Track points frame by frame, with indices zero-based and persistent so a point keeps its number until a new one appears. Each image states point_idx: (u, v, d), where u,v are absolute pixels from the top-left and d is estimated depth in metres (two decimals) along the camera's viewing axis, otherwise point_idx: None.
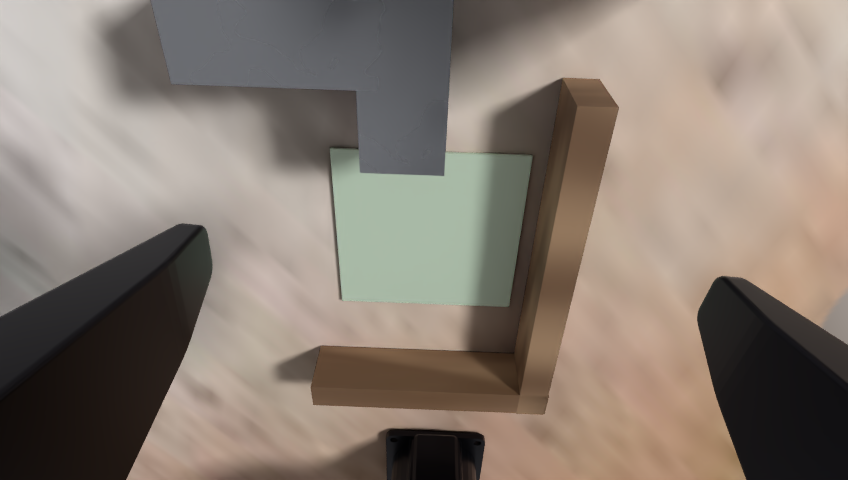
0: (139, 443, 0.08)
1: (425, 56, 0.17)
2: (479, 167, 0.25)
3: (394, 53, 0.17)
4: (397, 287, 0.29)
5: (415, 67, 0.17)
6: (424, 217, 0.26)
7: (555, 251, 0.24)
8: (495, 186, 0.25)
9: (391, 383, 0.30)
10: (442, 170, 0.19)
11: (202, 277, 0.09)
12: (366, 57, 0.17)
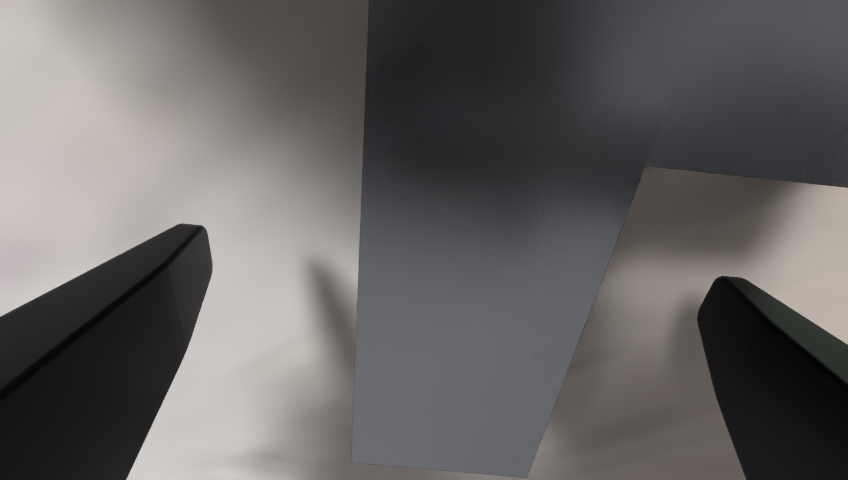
0: (140, 443, 0.08)
1: None
2: None
3: (558, 29, 0.05)
4: None
5: None
6: None
7: None
8: None
9: None
10: None
11: (202, 277, 0.09)
12: (553, 123, 0.06)
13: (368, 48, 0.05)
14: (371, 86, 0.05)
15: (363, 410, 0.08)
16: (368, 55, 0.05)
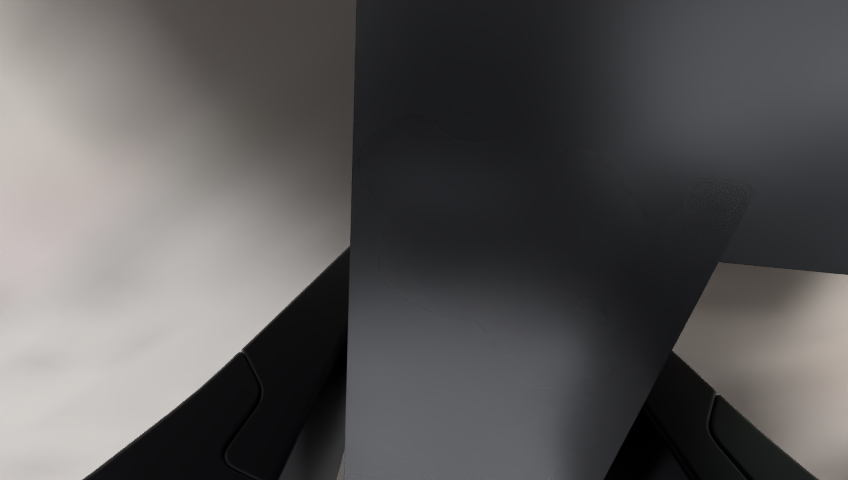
0: (340, 460, 0.08)
1: None
2: None
3: (615, 95, 0.04)
4: None
5: (716, 0, 0.03)
6: None
7: None
8: None
9: None
10: None
11: None
12: (601, 210, 0.04)
13: (355, 117, 0.04)
14: (360, 168, 0.04)
15: None
16: (355, 128, 0.04)
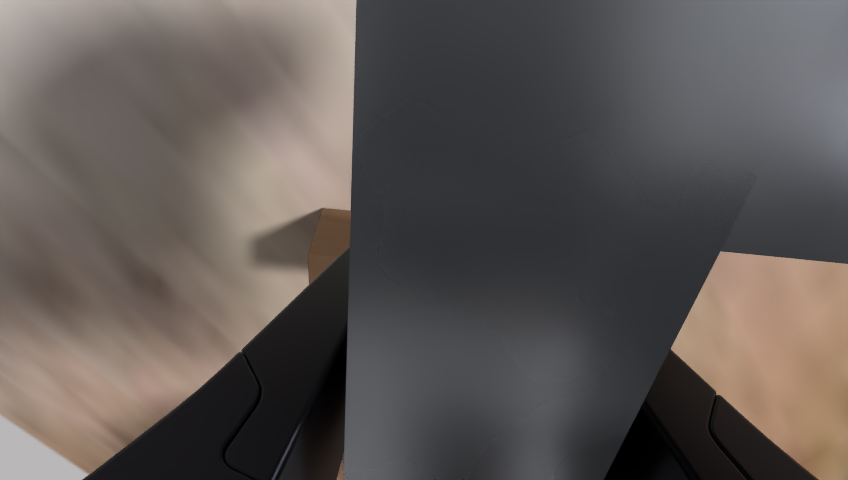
0: (340, 459, 0.08)
1: None
2: None
3: (616, 81, 0.04)
4: None
5: None
6: None
7: None
8: None
9: None
10: None
11: None
12: (603, 198, 0.04)
13: (355, 105, 0.04)
14: (360, 154, 0.04)
15: None
16: (355, 114, 0.04)
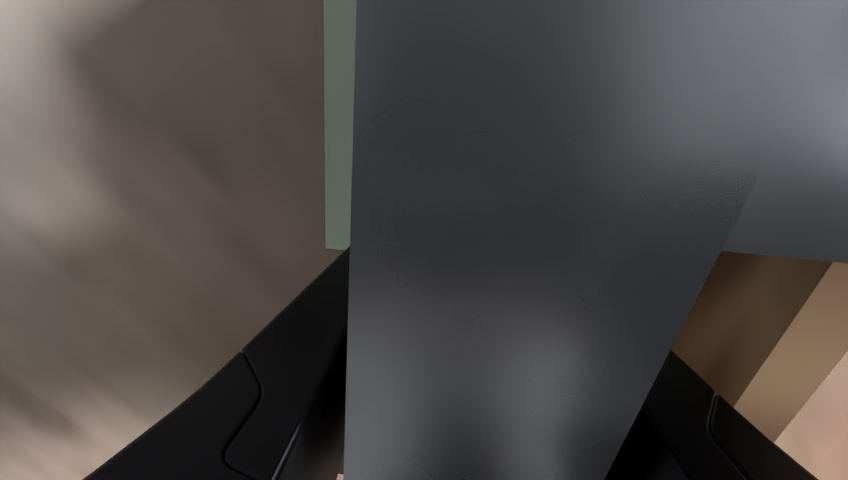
0: (341, 459, 0.08)
1: None
2: None
3: (616, 80, 0.04)
4: None
5: None
6: None
7: None
8: None
9: None
10: None
11: None
12: (603, 199, 0.04)
13: (354, 104, 0.04)
14: (360, 154, 0.04)
15: None
16: (355, 114, 0.04)
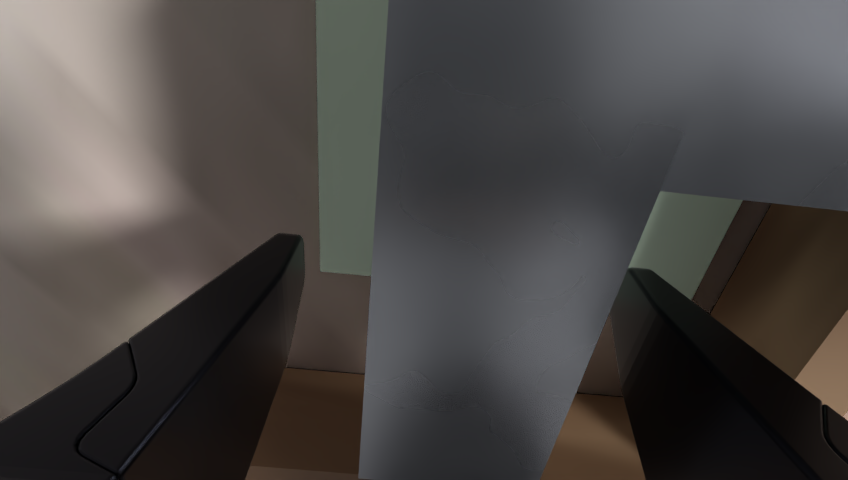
0: (253, 452, 0.08)
1: None
2: None
3: (577, 58, 0.05)
4: None
5: None
6: None
7: None
8: None
9: None
10: None
11: (298, 286, 0.09)
12: (568, 148, 0.06)
13: (384, 74, 0.05)
14: (387, 114, 0.05)
15: (371, 427, 0.08)
16: (385, 82, 0.05)
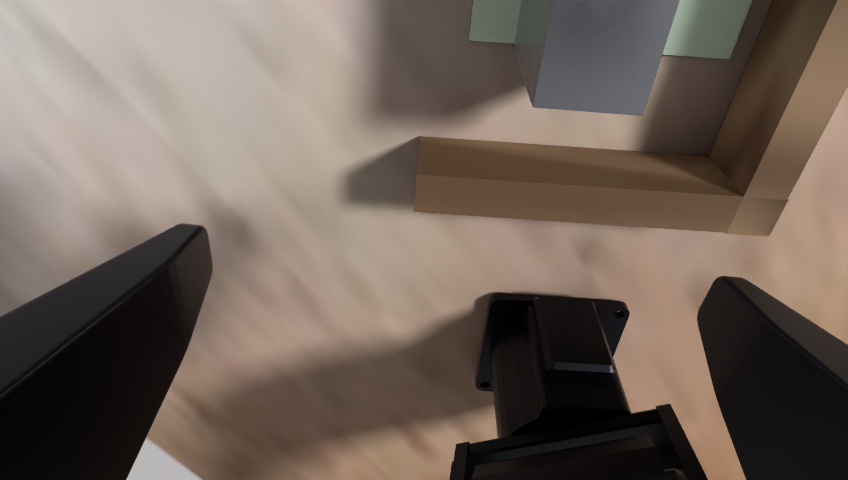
0: (140, 443, 0.08)
1: None
2: None
3: None
4: None
5: None
6: None
7: None
8: None
9: (541, 176, 0.19)
10: None
11: (202, 277, 0.09)
12: None
13: None
14: None
15: (549, 53, 0.14)
16: None
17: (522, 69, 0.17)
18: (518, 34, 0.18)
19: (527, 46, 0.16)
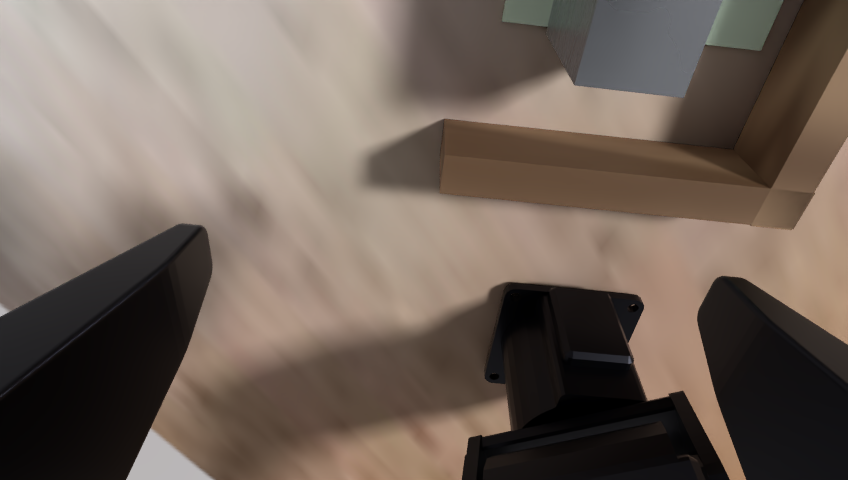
0: (140, 443, 0.08)
1: None
2: None
3: None
4: None
5: None
6: None
7: None
8: None
9: (569, 162, 0.19)
10: None
11: (202, 277, 0.09)
12: None
13: None
14: None
15: (595, 30, 0.14)
16: None
17: (559, 50, 0.17)
18: (553, 16, 0.18)
19: (566, 26, 0.16)
